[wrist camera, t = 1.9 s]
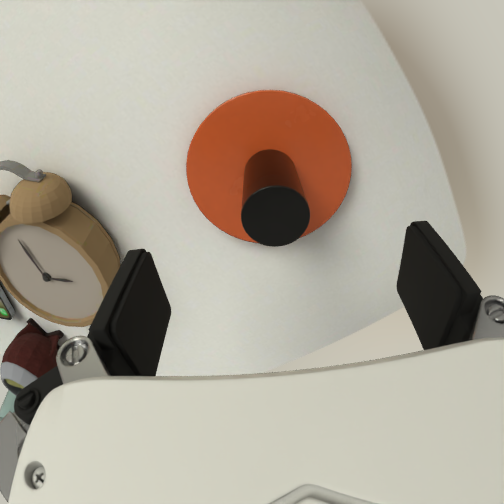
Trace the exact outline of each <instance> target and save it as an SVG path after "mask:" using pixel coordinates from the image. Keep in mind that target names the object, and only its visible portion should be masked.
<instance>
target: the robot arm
mask: <svg viewBox="0 0 504 504" xmlns="http://www.w3.org/2000/svg"><path fill="white" fill-rule="evenodd" d="M397 291H398V294H399V296H400V298H401V300H402V302H403V304H404V306H405V308H406V310H407V313H408V315H409V317H410V319H411V321H412V324H413V326H414V328H415V330H416V333H417V335H418V337H419V340H420V342H421V344H422V347H423V349H424V351H418V352H413V353H408V354H403V355H398V356H393V357H387V358H382V359H376V360H370V361H364V362H358V363H351V364H343V365H336V366H329V367H322V368H312V369H303V370H295V371H283V372H272V373H257V374H241V375H220V376H155V375H156V371H157V367H158V363H159V359H160V355H161V351H162V347H163V343H164V339H165V335H166V331H167V327H168V323H169V320H170V316H171V307H170V304H169V301H168V299H167V296H166V294H165V291H164V288H163V286H162V283H161V280H160V278H159V275H158V272H157V269H156V267H155V264H154V261H153V258H152V256H151V254H150V252H146V250H145V249H137V250H130V251H128V253H127V255H126V257H125V258H124V260H123V262H122V264H121V266H120V268H119V270H118V271H117V273H116V275H115V277H114V279H113V281H112V283H111V285H110V287H109V289H108V291H107V293H106V295H105V297H104V299H103V301H102V303H101V305H100V307H99V309H98V311H97V313H96V315H95V317H94V319H93V321H92V324H91V326H90V328H89V331H90V332H89V334H88V336H87V337H85V336H76V337H73V338H71V339H69V340H67V341H66V342H65V343H64V344H63V345H62V346H61V347H60V348H59V350H58V352H57V356H56V362H57V366H56V367H54V368H53V369H51V370H50V371H48V372H47V373H45V374H44V375H42V376H41V377H39V378H38V379H36V380H35V381H33V382H32V383H30V384H29V385H27V386H26V387H24V388H23V389H22V390H21V391H20V392H19V393H18V395H17V396H16V398H15V401H14V412H13V413H12V412H11V411H9V412H8V413H7V414H6V416H5V417H4V418H3V419H2V420H1V421H0V491H1V493H2V494H3V496H4V497H5V499H6V500H7V502H8V504H504V299H503V298H501V297H499V296H487V297H485V298H484V299H483V298H482V296H481V295H480V293H481V290H480V289H479V287H478V286H477V284H476V283H475V282H474V280H473V279H472V278H471V276H470V275H469V273H468V272H467V271H466V269H465V268H464V267H463V265H462V264H461V263H460V261H459V260H458V259H457V257H456V256H455V255H454V253H453V252H452V251H451V250H450V248H449V247H448V246H447V245H446V243H445V242H444V241H443V240H442V238H441V237H440V236H439V235H438V234H437V232H436V231H435V230H434V229H433V228H432V226H431V225H430V224H429V223H428V222H427V221H417V222H412V223H411V225H410V226H408V227H407V229H406V235H405V241H404V247H403V253H402V259H401V265H400V270H399V275H398V280H397Z"/></svg>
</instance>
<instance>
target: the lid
mask: <svg viewBox="0 0 504 504" xmlns="http://www.w3.org/2000/svg"><path fill="white" fill-rule="evenodd" d="M351 168H352V166H351V155H350V150H349V146H348V143H347V141H346V138H345V136H344V134H343V132H342V130H341V128H340V127H339V125H338V124H337V123H336V121H335V120H334V119H333V118H332V117H331V116H330V115H329V114H328V113H327V112H326V111H325V110H324V109H323V108H321V107H320V106H319V105H317V104H316V103H314V102H312V101H311V100H309V99H307V98H305V97H303V96H300V95H297V94H295V93H291V92H286V91H280V90H258V91H252V92H248V93H244V94H241V95H238V96H236V97H234V98H232V99H230V100H227V101H226V102H224V103H223V104H221V105H220V106H218V107H217V108H216V109H215V110H213V111H212V112H211V113H210V114H209V115H208V116H207V117H206V119H205V120H204V121H203V122H202V123H201V125H200V126H199V128H198V129H197V131H196V133H195V135H194V137H193V139H192V141H191V144H190V147H189V151H188V155H187V163H186V172H187V180H188V185H189V188H190V192H191V194H192V196H193V199H194V201H195V203H196V204H197V206H198V207H199V209H200V211H201V212H202V213H203V214H204V215H205V217H206V218H207V219H208V220H209V221H210V222H212V223H213V224H214V225H215V226H216V227H218V228H219V229H221V230H222V231H224V232H226V233H227V234H229V235H231V236H234V237H236V238H239V239H242V240H245V241H249V242H255V243H260V244H263V245H266V246H283V245H287V244H290V243H292V242H294V241H295V240H297V239H298V238H300V237H303V236H305V235H307V234H309V233H311V232H313V231H315V230H316V229H318V228H319V227H320V226H322V225H323V224H324V223H325V222H326V221H328V220H329V219H330V218H331V217H332V215H333V214H334V213H335V212H336V211H337V209H338V208H339V206H340V205H341V203H342V201H343V199H344V197H345V195H346V193H347V190H348V187H349V183H350V178H351Z"/></svg>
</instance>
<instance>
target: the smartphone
mask: <svg viewBox="0 0 504 504" xmlns="http://www.w3.org/2000/svg"><path fill="white" fill-rule="evenodd" d="M14 314H15V312H14V309H13V307H12V306H11V304H10V302H9V300H8V299H7V297H6V295H5V293H4V291H3V289H2V288H1V286H0V318H1V319H7V320H11V319H12V317H13V315H14Z"/></svg>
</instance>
